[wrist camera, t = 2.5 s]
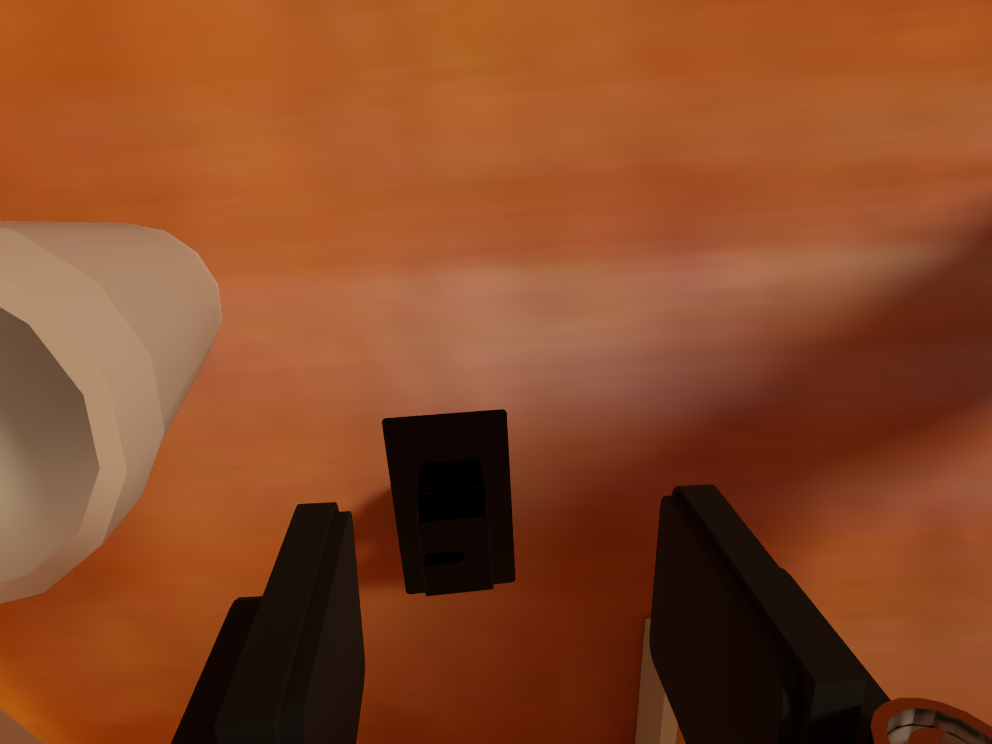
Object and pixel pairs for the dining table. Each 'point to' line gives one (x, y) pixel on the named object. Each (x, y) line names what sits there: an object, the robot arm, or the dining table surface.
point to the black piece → (452, 500)
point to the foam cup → (88, 381)
